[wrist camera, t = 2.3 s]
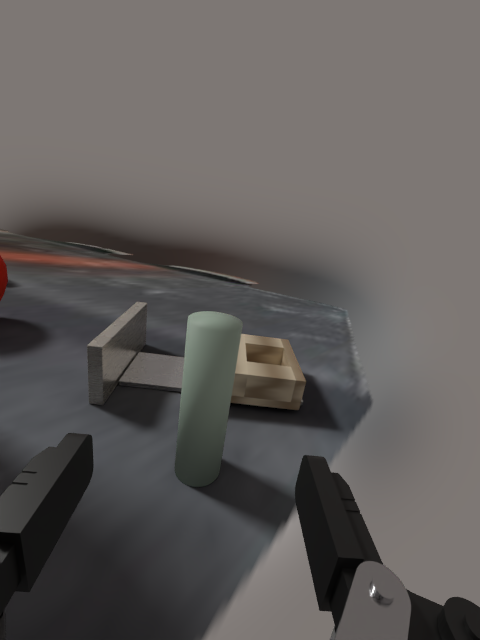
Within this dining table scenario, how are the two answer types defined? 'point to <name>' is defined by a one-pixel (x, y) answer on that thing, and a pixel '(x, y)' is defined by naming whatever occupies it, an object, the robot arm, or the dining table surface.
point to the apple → (3, 277)
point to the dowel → (206, 395)
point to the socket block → (267, 374)
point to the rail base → (129, 359)
